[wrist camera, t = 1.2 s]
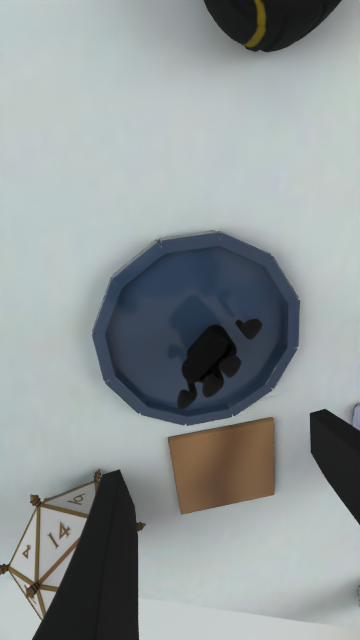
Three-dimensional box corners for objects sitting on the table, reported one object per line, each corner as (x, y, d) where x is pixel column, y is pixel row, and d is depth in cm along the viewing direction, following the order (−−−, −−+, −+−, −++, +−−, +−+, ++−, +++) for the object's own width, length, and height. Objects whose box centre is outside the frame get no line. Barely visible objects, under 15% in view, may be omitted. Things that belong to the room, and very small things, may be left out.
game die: (69, 450, 28) (-23, 490, 18) (161, 468, 26) (113, 524, 16) (51, 560, 26) (-61, 668, 17) (146, 587, 24) (84, 726, 15)
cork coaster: (272, 417, 24) (274, 420, 24) (272, 491, 28) (274, 495, 27) (167, 437, 24) (168, 441, 23) (180, 510, 27) (181, 515, 27)
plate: (294, 218, 19) (302, 220, 18) (289, 396, 24) (296, 405, 23) (74, 249, 18) (70, 253, 17) (119, 428, 23) (118, 439, 22)
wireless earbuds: (179, 382, 22) (191, 434, 17) (151, 364, 21) (155, 413, 16) (248, 308, 20) (282, 342, 15) (221, 285, 19) (248, 313, 15)
